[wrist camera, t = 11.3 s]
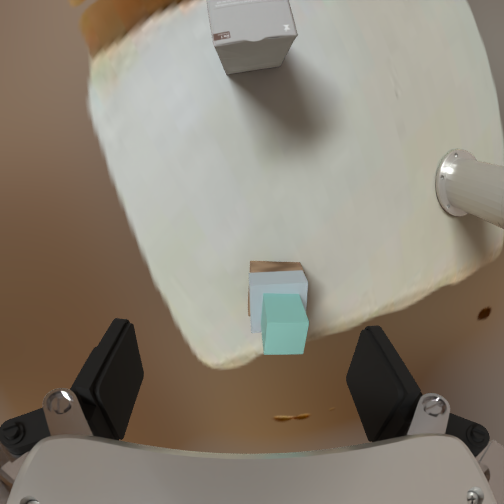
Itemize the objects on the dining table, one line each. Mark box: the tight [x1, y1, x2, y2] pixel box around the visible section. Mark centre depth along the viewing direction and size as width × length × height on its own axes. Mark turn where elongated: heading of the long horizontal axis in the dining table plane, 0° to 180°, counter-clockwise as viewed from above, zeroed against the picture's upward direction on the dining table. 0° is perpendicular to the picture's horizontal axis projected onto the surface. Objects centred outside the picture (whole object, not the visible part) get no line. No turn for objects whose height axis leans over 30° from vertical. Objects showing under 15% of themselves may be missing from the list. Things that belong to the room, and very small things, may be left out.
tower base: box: [248, 261, 304, 316], centre depth 46 cm, size 8×8×4 cm
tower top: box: [249, 270, 308, 333], centre depth 43 cm, size 8×8×4 cm
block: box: [261, 293, 309, 354], centre depth 37 cm, size 5×5×7 cm
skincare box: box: [207, 0, 298, 75], centre depth 27 cm, size 8×7×16 cm
